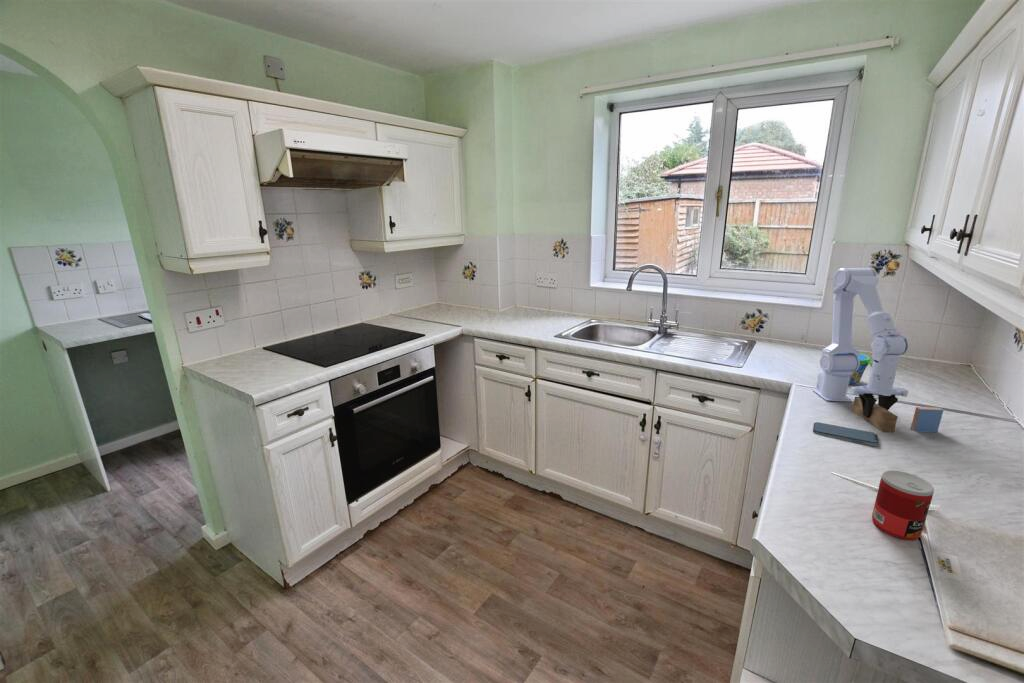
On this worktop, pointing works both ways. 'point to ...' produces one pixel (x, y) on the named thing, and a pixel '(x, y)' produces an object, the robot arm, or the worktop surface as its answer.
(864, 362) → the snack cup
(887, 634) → the worktop surface
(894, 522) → the canned food
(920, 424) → the tile
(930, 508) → the fork
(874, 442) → the smartphone
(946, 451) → the worktop surface
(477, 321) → the worktop surface
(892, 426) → the long wooden beam
